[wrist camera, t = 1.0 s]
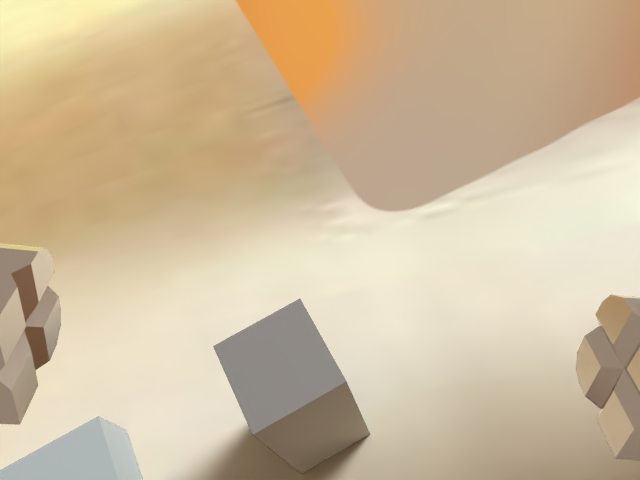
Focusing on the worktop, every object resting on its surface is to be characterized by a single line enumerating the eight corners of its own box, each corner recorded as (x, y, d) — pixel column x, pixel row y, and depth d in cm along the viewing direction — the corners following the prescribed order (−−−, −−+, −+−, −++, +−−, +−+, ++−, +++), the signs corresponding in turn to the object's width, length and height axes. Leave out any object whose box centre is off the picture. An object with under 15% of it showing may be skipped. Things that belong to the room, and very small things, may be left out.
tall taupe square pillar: (333, 368, 42) (299, 298, 31) (369, 434, 39) (346, 381, 29) (269, 405, 41) (213, 346, 31) (301, 474, 39) (252, 434, 28)
